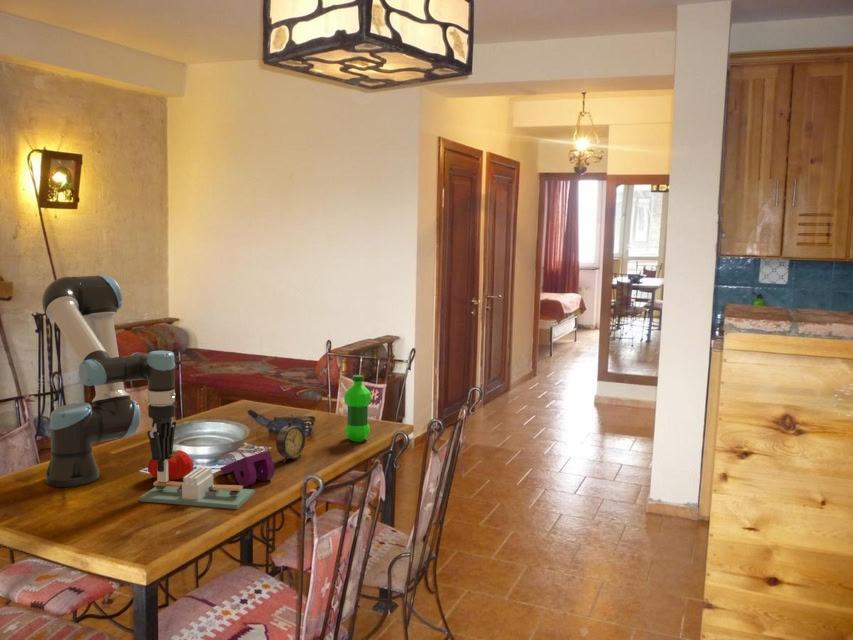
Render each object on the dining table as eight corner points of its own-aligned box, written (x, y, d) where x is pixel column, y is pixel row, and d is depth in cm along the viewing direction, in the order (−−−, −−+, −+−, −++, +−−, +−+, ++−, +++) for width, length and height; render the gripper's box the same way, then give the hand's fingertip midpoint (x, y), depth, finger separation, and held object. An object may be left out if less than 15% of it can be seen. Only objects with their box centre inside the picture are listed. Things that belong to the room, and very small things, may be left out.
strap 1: (153, 486, 219) (153, 482, 219) (157, 483, 222) (157, 479, 222) (183, 488, 218) (183, 484, 218) (187, 485, 220) (187, 481, 220)
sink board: (139, 501, 215) (138, 475, 214) (161, 486, 227) (161, 462, 226) (237, 509, 210) (237, 483, 209) (254, 493, 223) (254, 469, 222)
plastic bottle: (365, 444, 278) (366, 379, 275) (339, 441, 281) (340, 377, 278) (374, 437, 287) (375, 374, 285) (349, 435, 290) (350, 372, 287)
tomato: (195, 470, 243) (195, 444, 242) (192, 483, 231) (192, 456, 230) (151, 473, 240) (150, 446, 239) (146, 485, 228) (145, 458, 227)
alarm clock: (285, 464, 251) (285, 418, 250) (273, 462, 254) (273, 416, 252) (305, 456, 261) (306, 412, 259) (294, 454, 264) (294, 409, 262)
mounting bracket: (221, 495, 237) (252, 483, 226) (214, 470, 239) (245, 457, 228) (245, 488, 245) (276, 476, 233) (239, 463, 246) (269, 450, 235)
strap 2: (208, 490, 217) (208, 486, 216) (212, 487, 219) (212, 483, 219) (239, 491, 215) (239, 487, 215) (243, 488, 218) (242, 484, 218)
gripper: (162, 409, 210) (163, 489, 213) (184, 399, 223) (185, 474, 226) (138, 407, 211) (139, 487, 214) (161, 398, 224) (162, 473, 227)
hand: (162, 480), depth 220 cm, fingers closed
